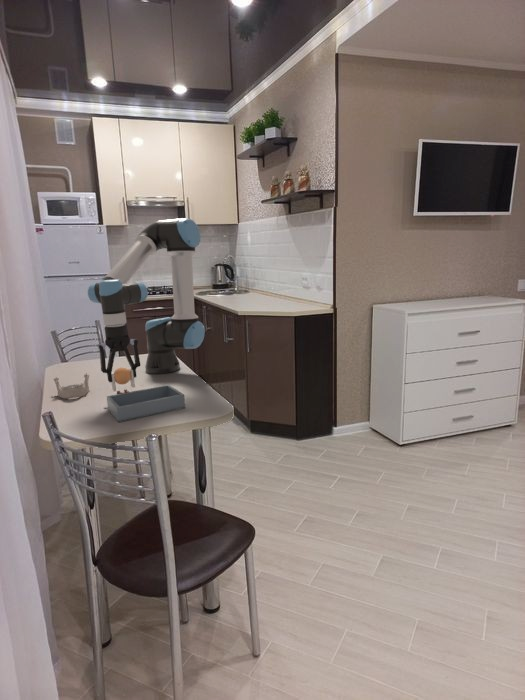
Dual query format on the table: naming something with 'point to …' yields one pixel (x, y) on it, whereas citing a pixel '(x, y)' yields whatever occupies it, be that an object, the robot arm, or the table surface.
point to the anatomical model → (73, 389)
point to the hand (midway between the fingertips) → (123, 388)
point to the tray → (145, 402)
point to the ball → (122, 375)
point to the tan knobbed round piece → (122, 392)
